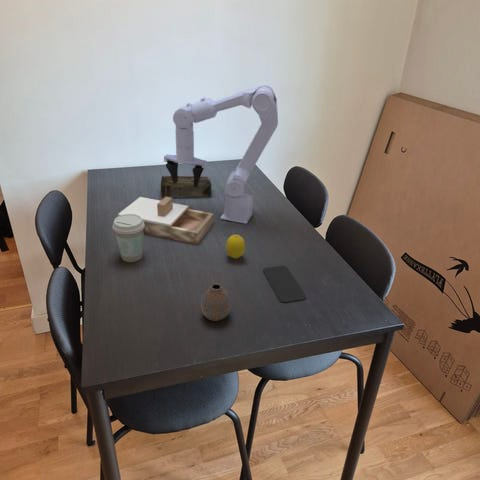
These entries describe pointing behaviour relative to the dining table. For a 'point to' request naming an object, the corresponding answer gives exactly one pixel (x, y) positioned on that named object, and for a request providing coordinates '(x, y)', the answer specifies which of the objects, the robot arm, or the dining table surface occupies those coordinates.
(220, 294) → the vase
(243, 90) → the robot arm
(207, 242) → the dining table surface
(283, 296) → the phone
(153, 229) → the box
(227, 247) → the lemon
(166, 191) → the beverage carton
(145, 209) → the lid
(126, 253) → the coffee cup
